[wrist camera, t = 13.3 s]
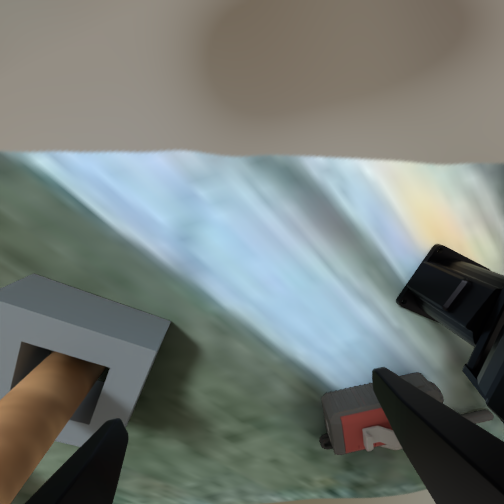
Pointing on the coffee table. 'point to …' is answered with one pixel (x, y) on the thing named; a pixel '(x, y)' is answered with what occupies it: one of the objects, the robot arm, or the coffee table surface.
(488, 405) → the robot arm
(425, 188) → the coffee table surface
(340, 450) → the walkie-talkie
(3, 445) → the peg
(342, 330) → the coffee table surface
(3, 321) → the socket block
